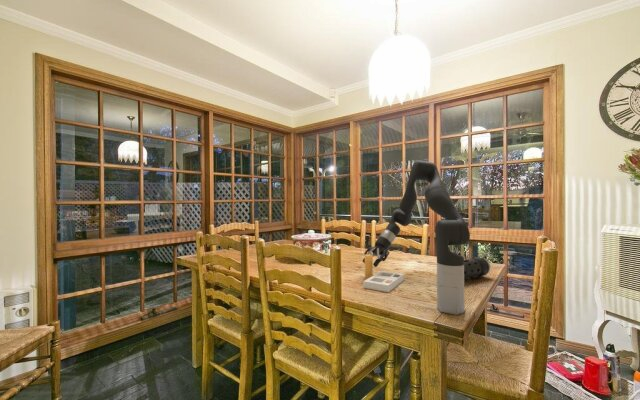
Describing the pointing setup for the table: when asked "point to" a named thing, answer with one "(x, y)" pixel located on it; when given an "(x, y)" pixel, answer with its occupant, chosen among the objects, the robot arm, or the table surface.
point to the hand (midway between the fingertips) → (368, 264)
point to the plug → (368, 266)
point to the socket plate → (384, 281)
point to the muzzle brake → (475, 267)
